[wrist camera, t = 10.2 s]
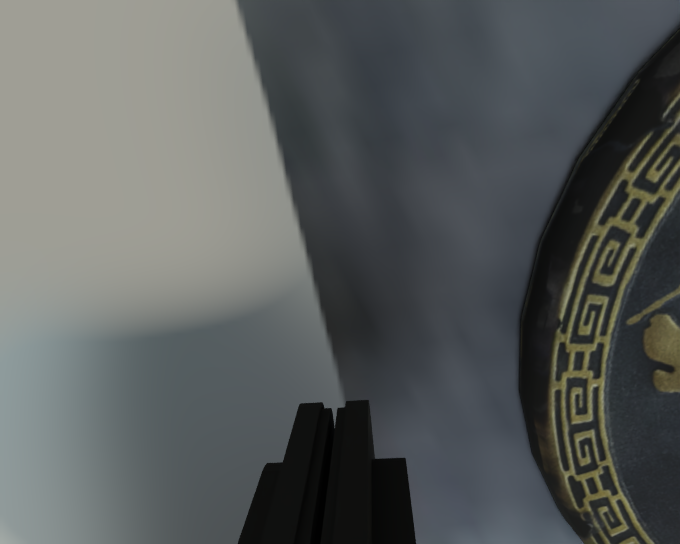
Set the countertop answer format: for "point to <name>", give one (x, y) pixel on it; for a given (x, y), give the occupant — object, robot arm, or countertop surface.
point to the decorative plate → (612, 324)
